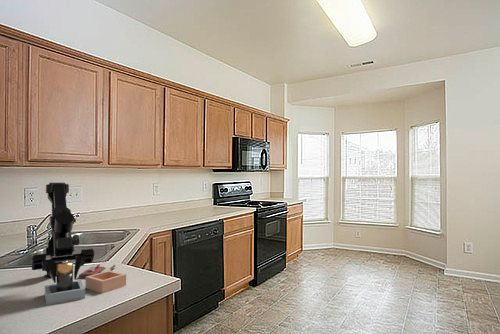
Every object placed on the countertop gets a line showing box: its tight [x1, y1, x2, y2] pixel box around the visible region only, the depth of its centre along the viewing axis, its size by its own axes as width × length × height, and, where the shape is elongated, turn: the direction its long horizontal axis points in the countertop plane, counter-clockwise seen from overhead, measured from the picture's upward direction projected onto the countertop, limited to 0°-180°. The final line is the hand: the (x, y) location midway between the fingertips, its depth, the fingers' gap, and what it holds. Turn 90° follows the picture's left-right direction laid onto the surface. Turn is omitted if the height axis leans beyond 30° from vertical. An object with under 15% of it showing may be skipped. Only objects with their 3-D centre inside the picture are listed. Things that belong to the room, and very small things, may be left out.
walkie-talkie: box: [78, 264, 116, 279], centre depth 141 cm, size 9×4×20 cm
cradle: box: [43, 279, 86, 306], centre depth 113 cm, size 11×11×4 cm
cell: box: [55, 260, 74, 292], centre depth 113 cm, size 5×5×12 cm
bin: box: [84, 270, 127, 294], centre depth 123 cm, size 10×10×5 cm
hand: (65, 280), depth 112 cm, fingers open, 6 cm apart
